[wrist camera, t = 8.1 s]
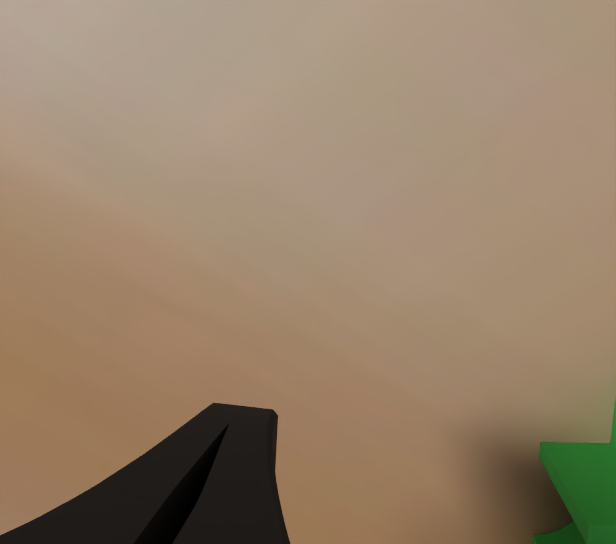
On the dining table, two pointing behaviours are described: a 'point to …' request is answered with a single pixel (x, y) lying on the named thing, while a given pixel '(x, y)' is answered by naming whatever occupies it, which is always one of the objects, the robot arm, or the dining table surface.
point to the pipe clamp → (583, 489)
